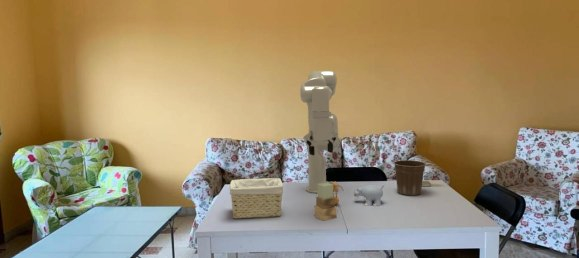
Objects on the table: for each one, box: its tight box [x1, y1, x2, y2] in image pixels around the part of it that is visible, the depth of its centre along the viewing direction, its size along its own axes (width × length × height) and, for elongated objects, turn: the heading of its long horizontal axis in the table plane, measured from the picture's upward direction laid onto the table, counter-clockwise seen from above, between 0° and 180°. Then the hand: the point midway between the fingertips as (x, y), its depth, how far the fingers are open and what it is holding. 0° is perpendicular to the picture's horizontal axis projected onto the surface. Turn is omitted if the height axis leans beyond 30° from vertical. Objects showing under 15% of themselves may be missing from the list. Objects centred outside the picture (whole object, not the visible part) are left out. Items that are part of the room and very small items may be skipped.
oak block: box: [314, 204, 338, 221], centre depth 173 cm, size 7×7×5 cm
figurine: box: [333, 181, 345, 206], centre depth 188 cm, size 8×6×12 cm
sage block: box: [316, 182, 334, 200], centre depth 172 cm, size 5×5×6 cm
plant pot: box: [393, 159, 427, 197], centre depth 205 cm, size 16×16×16 cm
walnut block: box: [315, 196, 336, 209], centre depth 172 cm, size 6×6×4 cm
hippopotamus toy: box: [353, 183, 386, 207], centre depth 191 cm, size 11×15×10 cm
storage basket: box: [229, 177, 284, 219], centre depth 179 cm, size 24×16×15 cm
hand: (321, 153), depth 172 cm, fingers open, 9 cm apart
